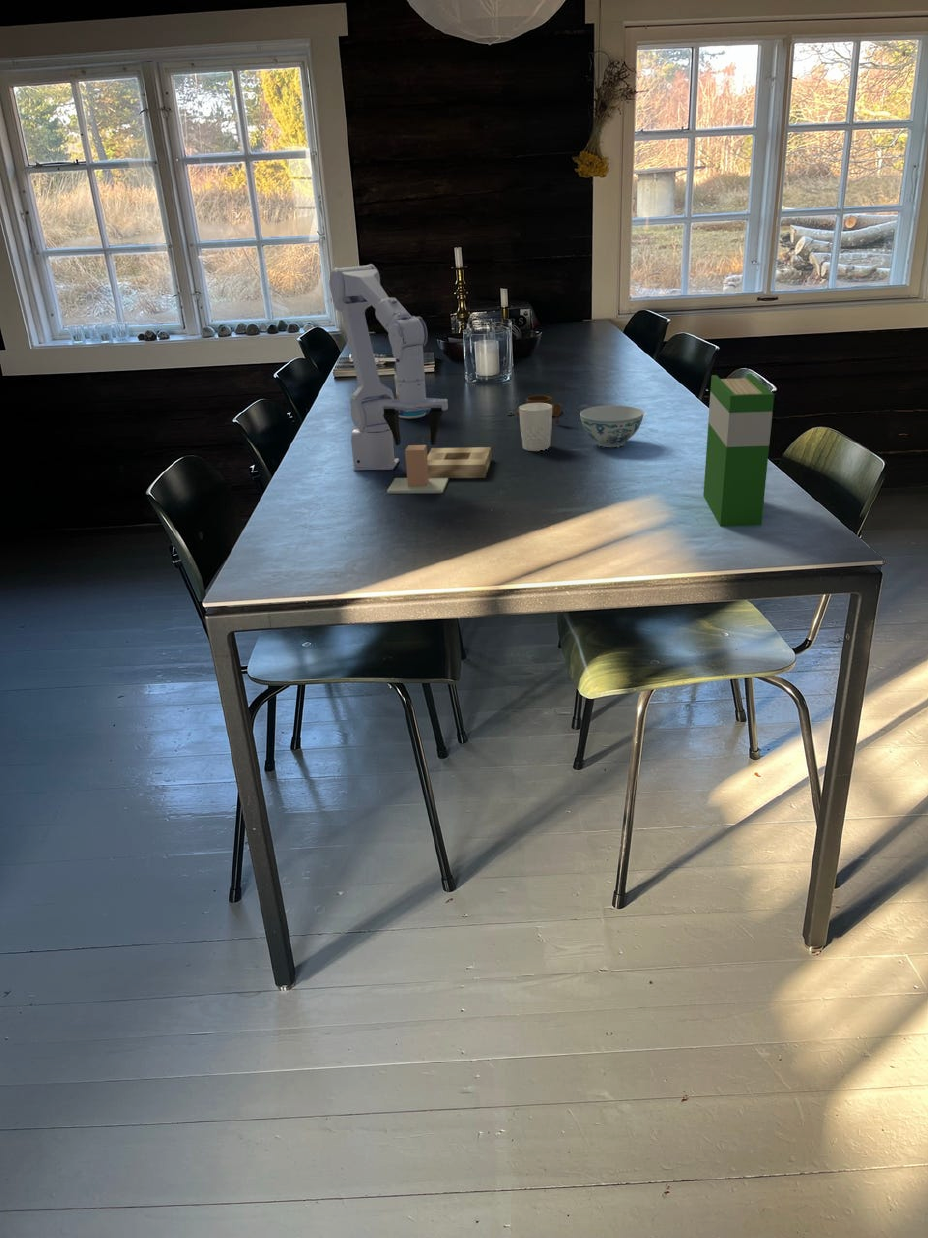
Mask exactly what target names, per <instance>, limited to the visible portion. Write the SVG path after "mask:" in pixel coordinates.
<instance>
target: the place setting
mask: <svg viewBox="0 0 928 1238" xmlns="http://www.w3.org/2000/svg"><path fill="white" fill-rule="evenodd" d="M525 401H526V403H525V404H529V403H546V404H550V405H552V415H555V416H554V417H555V419H554V423H555V424H559V422H560V420H559V416H560V415H561V414H562V404H561V403H554V404H552V397H551V396H549V395H544V394H543V395H542V394H541V395H538V394H537V395H531V396H530V395H529V396H528V397H526V399H525ZM516 411H517V415H519V416H520V411H519V408H517V410H516ZM510 413H514V411H511V412H510ZM508 414H509V413H506V415H507V416H508ZM511 415H512V416H514V415H515V413H514V414H510V415H509V416H508V417H512V416H511Z"/></svg>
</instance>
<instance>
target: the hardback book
mask: <svg viewBox="0 0 928 1238" xmlns="http://www.w3.org/2000/svg"><path fill="white" fill-rule="evenodd" d="M710 380H711V381H710V395H709V408H708V409H709V410H708V421H707V422H708V423H707V440H706V449H705V450H706V452H705V463H704V464H705V466H704V481H703V498H704V500H705V502H706V503H707V505H708V507H709V509H710V512H712V515H713V516H714V518H715V520H716V521H717V523H718V525H719V527H751V526H752V527H755V526H757V527H758V526H762V523H763V522H762V521H763V512H764V502H765V492H766V491H765V490H766V482H767V481H766V480H767V470H768V462H769V452H770V443H771V442H770V441H771V431H772V424H773V423H772V422H773V421H772V420H773V412H774V411H773V410H774V401H775V393H774V392H773V391H771V390H770V389H769V388H768V387H766V385H765V384H763V382H761V381H760V380H759V379H758V378H756V377H755V376H754V375H753V374H752V373H746V375H745V377H744V378H743V377H742V378H741V377H740V378H720V377H719V376H718V375H717V374H715V375H714V374H712V375H711V379H710Z"/></svg>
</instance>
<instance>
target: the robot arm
mask: <svg viewBox="0 0 928 1238" xmlns="http://www.w3.org/2000/svg"><path fill="white" fill-rule="evenodd" d="M328 284H329V285H328V286H329V289H330V293H331V297H332V302H333V305H334V310H335V311H337V312H340V313H341V315H342V320H343V324H344V329H345V332H346V337H347V341H348V345H349V350H350V355H351V359H352V362H353V367H354V371H355V376H356V381H357V385H358V387H357V389H356V390H355V391H354V392H353V393H352V395H351V397H350V398H349V405H350V417H351V421H352V424H353V425H354V427H355V428H354V429H353V430H352V431H351V436H350V437H351V439H350V442H351V443H350V444H351V454H352V462H353V463H352V464H353V468H352V469H353V471H393V470H394V469H395V467H396V466H397V464H398V463H399V461H400V458H395V450H394V443H395V446H400V444H401V443H402V442H401V432H400V431H401V430H400V420H399V419H400V417H399V410H426V411H429V410H430V411H429V412H428V420H429V428H430V444H431V446H435V445H436V442H437V433H438V429H439V424H440V420H441V418H442V415H443V413H444V411H447V410H448V408H449V404H448V399H447V398H433V397H431V398H430V397H427V392H426V380H425V379H426V375H425V360H424V347H425V346H426V344H427V343H428V328H427V325H426V322H425V321H424V320H423V318H422V317H421V316H415V315H411V314H410V313H409V311H407V310H406V308H405V307H404V306H403V305H402V304H401V302H400V301H399V300H398V299H397V298H396V297H389V296H388V294H387V292H386V291H385V289H384V288H383V287H382V285H381V276H380V273H379V270H378V268H377V267H376V266H375V265H374V264H373V263H370V264H369V263H368V264H367V265H358V266H357V265H356V266H347V267H346V266H345V267H334V268H333V269H331V271H330V275H329V282H328ZM371 306H372V307H373V308H374V310H375V313H374V314H375V317H376V320H378V322H379V323H380V325H381V326H382V327H383V328H384V330H385V331H386V332H387V333H388V342H389V343H390V346H391V351H392V352H391V353H392V356H393V358H394V359H395V362H396V369H397V382H398V395H399V399H397V398H395V397H394V396H395V395H394V393H393V390H392V389H391V388H389V387H388V386H386V385H384V384H383V383H381V381H380V376H379V371H378V368H377V362H376V359H375V354H374V348H373V345H372V341H371V336H370V331H369V327H368V323H367V319H366V310H367V309H368V308H369V307H371ZM369 399H370V400H369Z"/></svg>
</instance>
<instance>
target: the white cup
mask: <svg viewBox="0 0 928 1238" xmlns="http://www.w3.org/2000/svg"><path fill="white" fill-rule="evenodd" d="M552 405H553V404H551V405H550V404H546V403H529V404H526V403H525V404H522V405H520V406H519V407H518V409H519V411H520V415H519V424H520V425H519V426H520V433H521V435H520V436H521V443H522V445H521V446H522V449H523V450H525V451H529V452H541V451H540V450H543V451H546V450H545V449H547V450H549V449H550V448H551V436H552V424H553V423H552V422H553V419H552V418H553V417H552ZM549 447H550V448H549ZM548 448H549V449H548Z"/></svg>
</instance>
